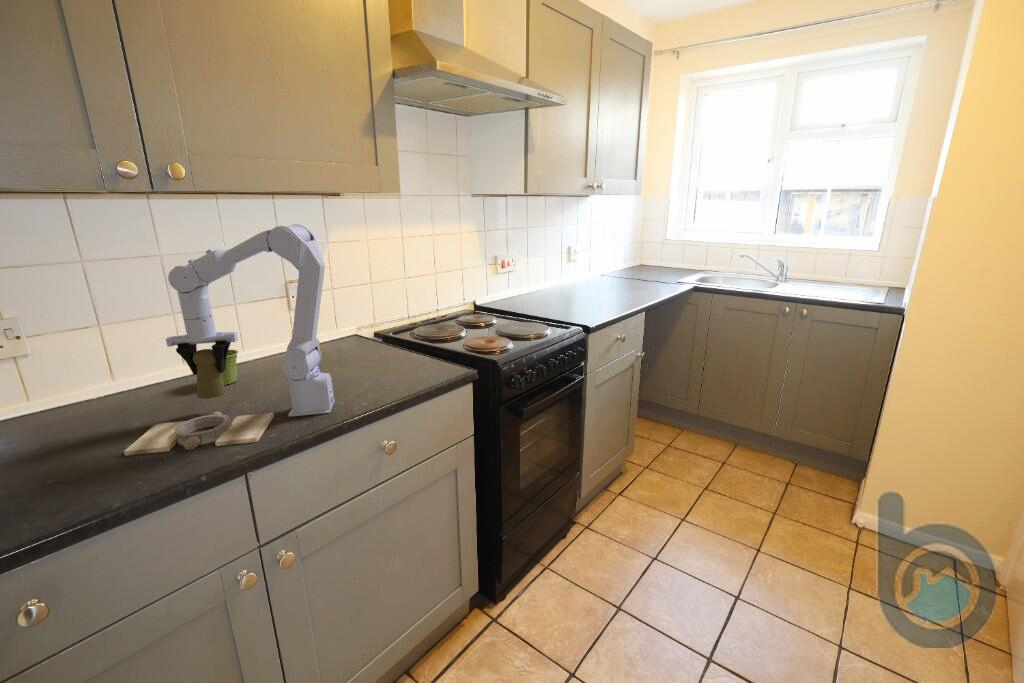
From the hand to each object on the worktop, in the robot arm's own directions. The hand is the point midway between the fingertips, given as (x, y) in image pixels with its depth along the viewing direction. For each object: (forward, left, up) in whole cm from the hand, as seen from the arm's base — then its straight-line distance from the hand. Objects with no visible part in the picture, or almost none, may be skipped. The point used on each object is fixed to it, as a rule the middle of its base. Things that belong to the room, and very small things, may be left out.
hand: (209, 372), depth 115 cm
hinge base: (-2, +13, -10) cm, 17 cm away
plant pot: (+6, -22, -11) cm, 25 cm away
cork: (+1, 0, -6) cm, 6 cm away
